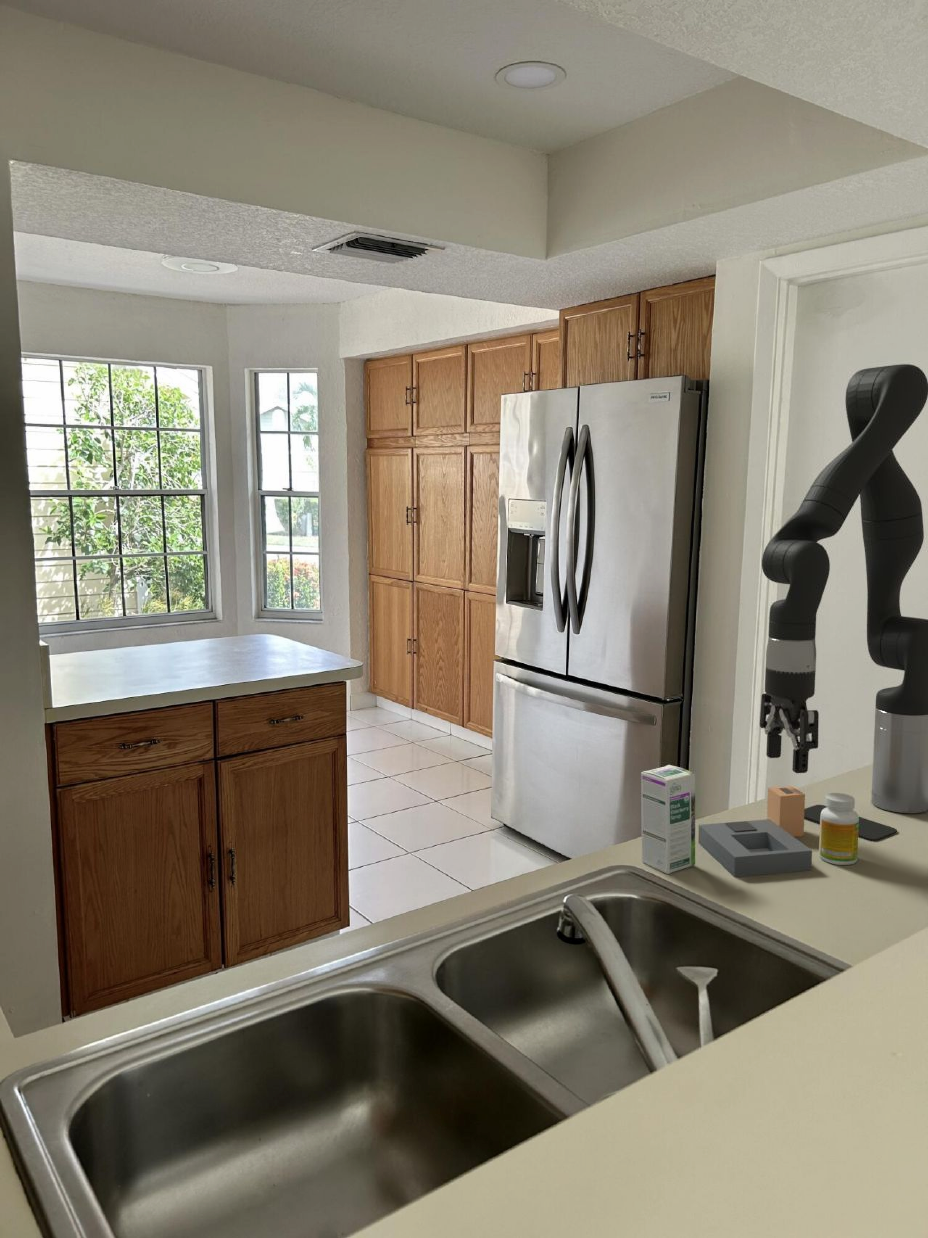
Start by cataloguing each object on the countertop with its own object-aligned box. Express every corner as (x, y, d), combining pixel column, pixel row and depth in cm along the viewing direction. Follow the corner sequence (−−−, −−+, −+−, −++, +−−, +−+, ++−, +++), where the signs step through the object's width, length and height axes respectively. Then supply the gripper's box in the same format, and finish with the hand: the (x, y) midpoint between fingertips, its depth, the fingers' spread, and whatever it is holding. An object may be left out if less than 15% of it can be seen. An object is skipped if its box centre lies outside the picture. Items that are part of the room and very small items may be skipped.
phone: (873, 840, 144) (792, 812, 156) (873, 845, 144) (792, 817, 156) (900, 829, 148) (819, 803, 160) (900, 834, 148) (819, 808, 160)
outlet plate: (769, 837, 147) (769, 818, 146) (811, 870, 134) (812, 849, 134) (698, 842, 145) (698, 823, 145) (734, 876, 132) (734, 855, 132)
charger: (790, 826, 151) (791, 785, 150) (803, 836, 147) (805, 793, 146) (766, 828, 151) (767, 787, 150) (779, 838, 146) (780, 795, 145)
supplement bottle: (860, 867, 135) (863, 804, 133) (822, 865, 136) (824, 802, 134) (853, 852, 140) (855, 792, 139) (816, 850, 141) (818, 790, 140)
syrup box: (667, 875, 133) (669, 779, 131) (639, 861, 138) (640, 769, 136) (695, 866, 136) (697, 772, 134) (667, 853, 141) (668, 762, 139)
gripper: (837, 673, 138) (832, 776, 141) (789, 657, 152) (785, 751, 155) (791, 675, 137) (786, 779, 139) (747, 658, 151) (744, 753, 153)
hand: (786, 764), depth 147 cm, fingers open, 8 cm apart
